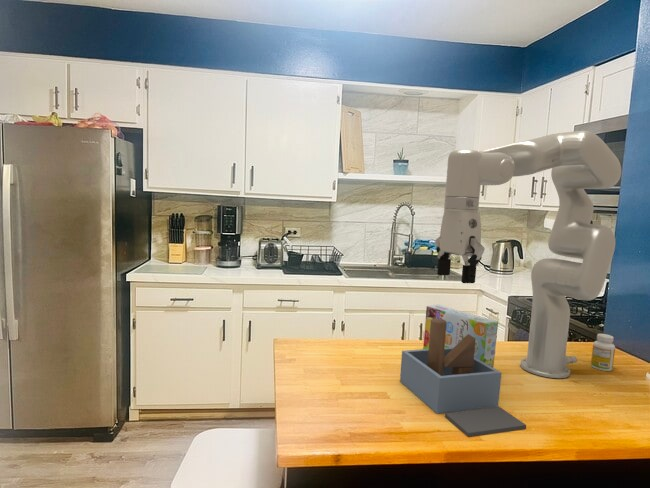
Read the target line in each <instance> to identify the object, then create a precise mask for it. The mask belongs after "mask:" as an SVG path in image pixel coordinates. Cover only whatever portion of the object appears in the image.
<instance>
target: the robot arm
mask: <svg viewBox="0 0 650 488" xmlns="http://www.w3.org/2000/svg"><path fill="white" fill-rule="evenodd" d="M549 169H550V170H551V172H550V173H551V175H550V176H551V180H552V183H553V185H554V187H555V191H556V192H557V196H558V201H559V205H558V210H557V213H556V216H555V219H554V222H553V225H552V229H551V231H550V235H549V238H548V245H547V246H548V249H549V251H551V253H553V254H555V255H558V256H562V257H568V258H575V259H582V262H579V261H578V262H577V261H571V260H566V259H560V258H552V257H551V258H550V257H549V258H548V257H547V258H541V259H540V260H537V262H535V263H534V264H533V266H532V269H531V271H530V272H531V274H530V279H531V287H532V289H531V290H532V300H531V302H532V304H531V313H530V323H529V324H530V325H529V334H528V335H529V336H528V344H527V351H526V353H527V355H526V358H525V357H524V358H522V359H520V364H519V365H520V367H521V368H522V369H523V370H524V371H526V372H529V373H530V374H534V375H536V376H538V377H539V376H540V377H545V378H551V379H566V378H569V377H570V375H571V370H570V368H569V367H568V365H570V364H576V363H578V358H577V356H576V355H575V356H574V355H571V356H570V355H569V356H568V355H566V354H567V345H568V344H567V343H568V338H569V337H568V336H569V327H570V318H571V307H570V306H569V305H570V304H569V302H568V300H567V298H566V297H568V298H572V299H576V300H581V301H592V300H595V299H596V298H597V297H599V295H600V293H601V292H602V289H603V287H604V286H605V285H604V284H605V283H606V282H605V281H606V278H607V275H608V272H609V269H610V265H611V263H612V260H613V258H614V253H615V248H616V236H615V233H614V231H613V230H612V229H611V228H610V227H608V226H606V225H602V224H596V223H595V224H594V223H591V222H592V218H593V215H594V211H595V210H594V207H595V206H594V204H593V202H592V200H591V198H590V196H589V195H588V193H587V192H586V191H585V190H586V189H587V190H592V189H593V190H594V189H595V190H596V189H598V190H599V189H601V190H602V189H609V188H612V187H614V186H615V185H617V183H618V182H619V181H620V179H621V176H622V166H621V163H620V160H619V159H618V157H617V156H616V155H615V153H614V152H613V151H612V150H611V148H609V145H607V143H605V142H604V141H603V139H602V138H601V137H600V136H598V135H597V134H595V133H594V132H593V131H590V130H587V129H586V130H577V131H576V130H575V131H568V132H558V133H552V134H549V135H547V134H546V135H545V136H541V137H536V138H533V139H528V140H523V141H520V142H515V143H510V144H506V145H503V146H498V147H494V148H490V149H484V150H479V151H478V150H474V149H457V150H453V151H451V152H449V154H448V158H447V169H446V180H445V182H446V183H445V194H444V195H445V196H444V207H443V215H442V219H441V224H440V225H441V226H440V231H439V236H438V237H437V238H436V239H435V241H434V242H435V246H436V248H435V249H436V250H435V251H436V253H437V256H436V257H437V259H438V261H437V272H436V273H437V275H438V276H449V275H450V274H451V265H452V259H451V258H450V257H451V256H452V255H456V256H460V257H462V260H463V263H464V264H463V265H462V267H461V268H462V271H461V283H462V284H475V282H476V275H477V267H478V266H479V263H480V262H481V260H482V256H483V254H484V252H485V247H484V246H483V244H481V243H482V223H481V222H482V221H481V220H482V219H481V213H480V212H479V208H480V206H479V205H480V195H481V186H500V185H504V184H507V183H508V182H509V181H510V180H511V179H512V178H513V177H523V176H529V175H533V174H537V173H540V172H543V171H547V170H549Z"/></svg>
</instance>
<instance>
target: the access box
mask: <svg viewBox="0 0 650 488" xmlns="http://www.w3.org/2000/svg"><path fill="white" fill-rule="evenodd" d="M453 348H454V347H451V348H444V357H445V356H446V355H447V354H448V353H449V352H450V351H451V350H452V349H453ZM428 351H429V349H423V348H422V349H410V350H409V349H408V350H407V349H406V350H402V351H401V361H400V362H401V364H400V378H399V382H400V383H401V384H402V385H403V386H405V387H406V388H407V389H408V390H410V392H411V393H413V394H414V396H416V397H417V398H418V399H419V400H420V401H421V402H422V403H423V404H425V405H426V406H427V407H428V408H430V409H431V410H432V411H433V412H434V413H435V414H436V415H438V414H439V415H440V414H445V413H452V412H460V411H468V410H477V409H485V408H493V407H499V403H500V391H501V384H502V383H501V380H502V372H501V371H499V370H497V369H496V368H493V367H491V366H489V365H487V364H485V363H484V362H482V361H480V360H478V359H477V358H475V357H474V363H473V372H472V373H469V374H458V375H452V369H453V367H445V366H444V365H443V372H442V376H440V375H439V374H438V373H436V372H435V371H434V370H432V369H431V368H429V367H428V366H427V364H428Z"/></svg>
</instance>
